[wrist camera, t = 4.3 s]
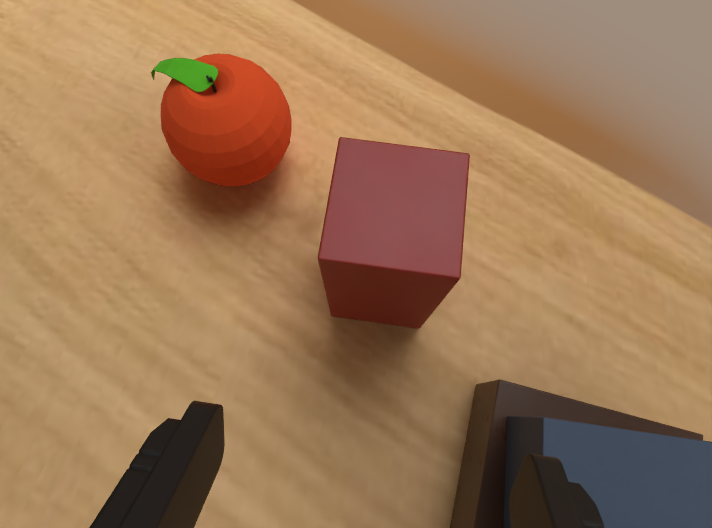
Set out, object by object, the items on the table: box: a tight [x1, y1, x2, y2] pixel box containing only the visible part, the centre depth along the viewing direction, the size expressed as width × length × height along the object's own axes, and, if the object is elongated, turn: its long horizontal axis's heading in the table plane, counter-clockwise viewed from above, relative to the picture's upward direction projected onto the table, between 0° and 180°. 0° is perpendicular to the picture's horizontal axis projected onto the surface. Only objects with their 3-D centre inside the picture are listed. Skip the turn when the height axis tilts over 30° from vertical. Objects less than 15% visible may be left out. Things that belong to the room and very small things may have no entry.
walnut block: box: [450, 380, 703, 528], centre depth 21 cm, size 9×9×4 cm
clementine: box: [151, 54, 291, 186], centre depth 25 cm, size 8×7×7 cm
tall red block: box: [318, 137, 470, 328], centre depth 21 cm, size 5×5×10 cm
